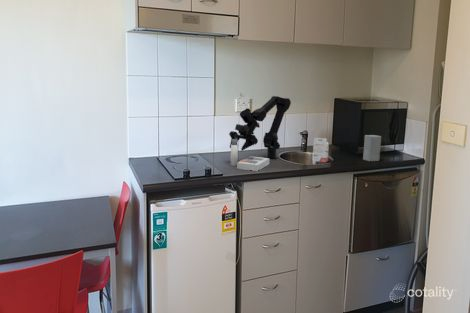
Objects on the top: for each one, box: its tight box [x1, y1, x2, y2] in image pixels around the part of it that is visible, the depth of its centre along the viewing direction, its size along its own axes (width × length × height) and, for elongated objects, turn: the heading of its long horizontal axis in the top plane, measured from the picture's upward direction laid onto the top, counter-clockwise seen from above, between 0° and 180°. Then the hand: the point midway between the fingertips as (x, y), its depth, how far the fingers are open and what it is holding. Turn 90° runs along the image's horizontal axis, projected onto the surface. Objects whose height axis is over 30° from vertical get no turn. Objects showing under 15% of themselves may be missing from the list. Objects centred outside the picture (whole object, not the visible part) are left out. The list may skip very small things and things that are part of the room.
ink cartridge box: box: [312, 137, 330, 163], centre depth 262 cm, size 9×5×15 cm, turn 62°
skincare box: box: [362, 134, 382, 162], centre depth 268 cm, size 8×7×16 cm
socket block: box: [236, 155, 271, 172], centre depth 244 cm, size 20×12×4 cm, turn 156°
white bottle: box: [230, 139, 239, 167], centre depth 244 cm, size 4×4×15 cm
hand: (235, 148), depth 245 cm, fingers open, 9 cm apart
